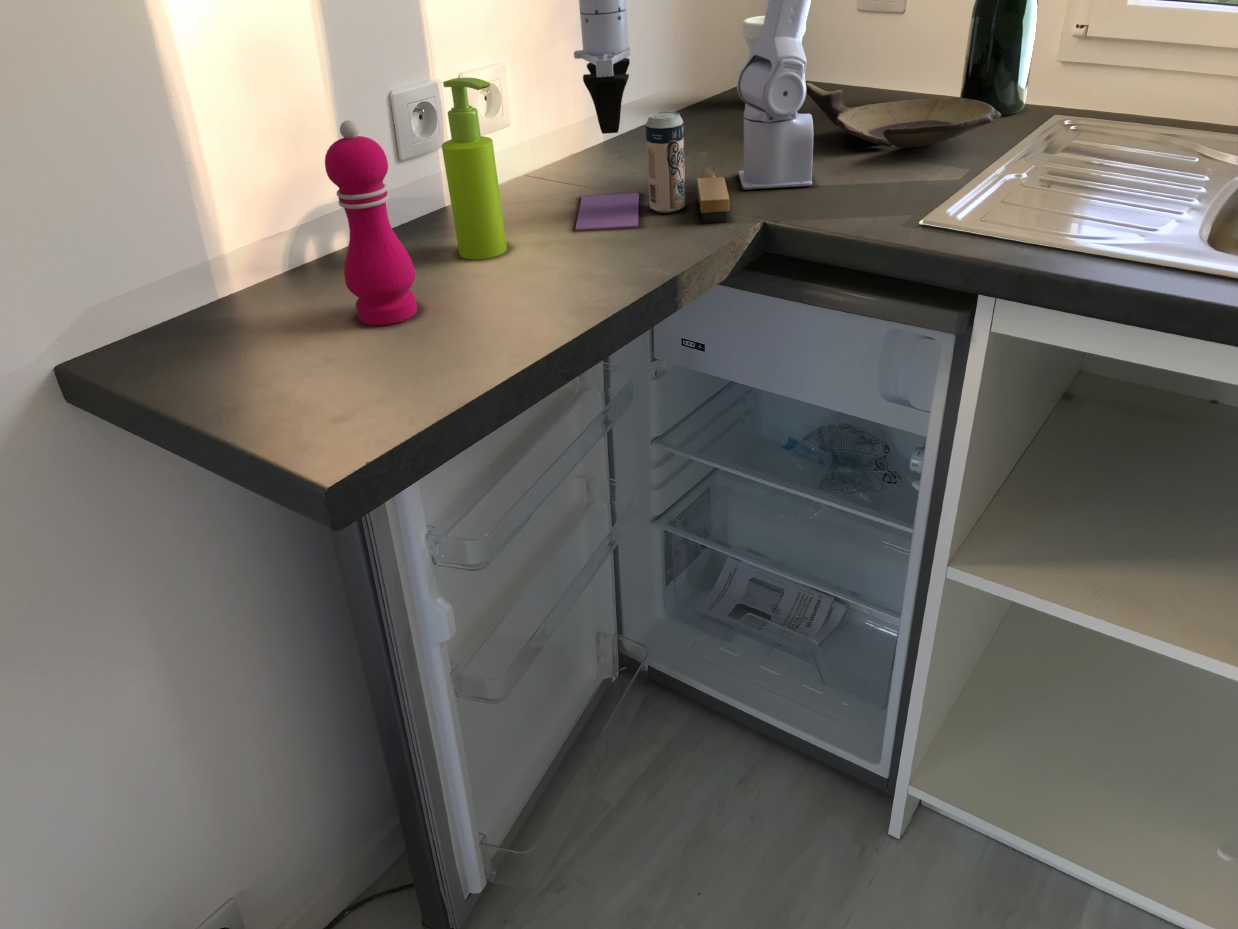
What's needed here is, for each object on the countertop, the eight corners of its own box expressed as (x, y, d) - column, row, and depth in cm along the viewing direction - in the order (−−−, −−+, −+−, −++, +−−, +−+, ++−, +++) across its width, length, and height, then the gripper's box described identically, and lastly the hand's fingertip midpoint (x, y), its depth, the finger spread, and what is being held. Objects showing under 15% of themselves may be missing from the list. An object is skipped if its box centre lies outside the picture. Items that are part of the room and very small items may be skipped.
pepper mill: (359, 304, 103) (316, 115, 93) (425, 298, 104) (389, 109, 93) (349, 331, 97) (301, 132, 87) (418, 324, 98) (380, 125, 87)
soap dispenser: (493, 263, 112) (468, 85, 101) (449, 255, 115) (420, 82, 104) (523, 247, 116) (501, 74, 105) (479, 240, 119) (454, 72, 108)
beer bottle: (1011, 119, 153) (1047, -119, 135) (948, 113, 158) (975, -116, 141) (1033, 105, 159) (1070, -123, 142) (972, 101, 165) (1000, -120, 147)
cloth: (638, 194, 131) (638, 192, 131) (638, 227, 119) (637, 225, 119) (581, 198, 132) (581, 195, 131) (575, 230, 120) (575, 228, 120)
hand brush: (721, 186, 132) (721, 163, 130) (729, 222, 119) (729, 198, 117) (695, 187, 132) (695, 165, 131) (701, 223, 119) (700, 199, 117)
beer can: (682, 214, 122) (680, 119, 116) (646, 214, 123) (642, 119, 117) (687, 203, 126) (685, 110, 120) (652, 203, 127) (648, 111, 121)
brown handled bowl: (919, 173, 131) (925, 116, 127) (780, 136, 153) (781, 86, 149) (1027, 143, 140) (1036, 89, 136) (881, 112, 162) (885, 65, 158)
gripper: (574, 5, 122) (583, 114, 129) (566, 21, 109) (577, 141, 117) (628, 2, 121) (634, 111, 129) (627, 17, 109) (633, 137, 116)
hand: (610, 125), depth 123 cm, fingers open, 7 cm apart
